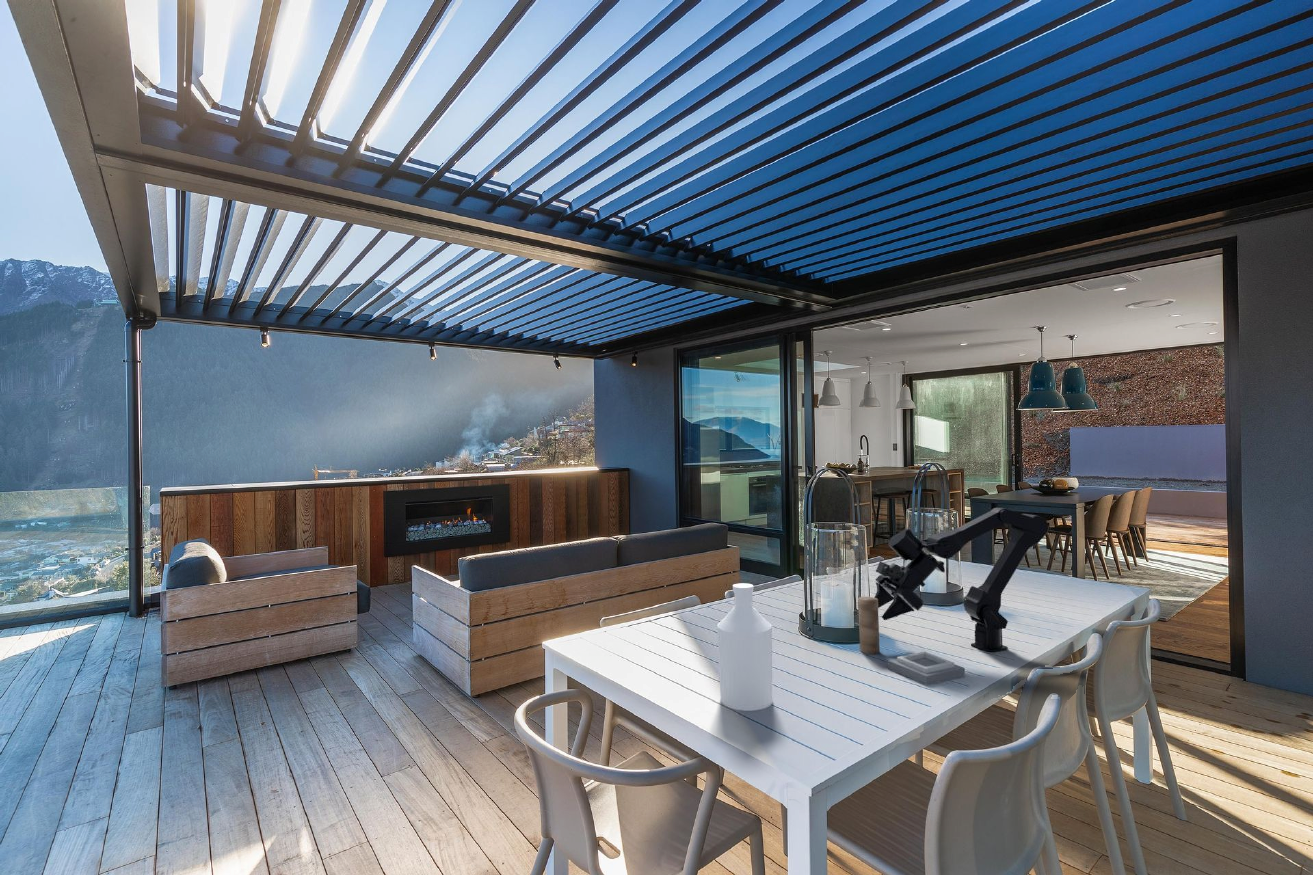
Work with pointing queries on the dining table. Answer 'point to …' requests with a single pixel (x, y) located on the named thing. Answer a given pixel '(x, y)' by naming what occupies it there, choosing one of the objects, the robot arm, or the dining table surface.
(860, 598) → the post
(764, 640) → the bottle
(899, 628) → the dining table surface
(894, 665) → the base
